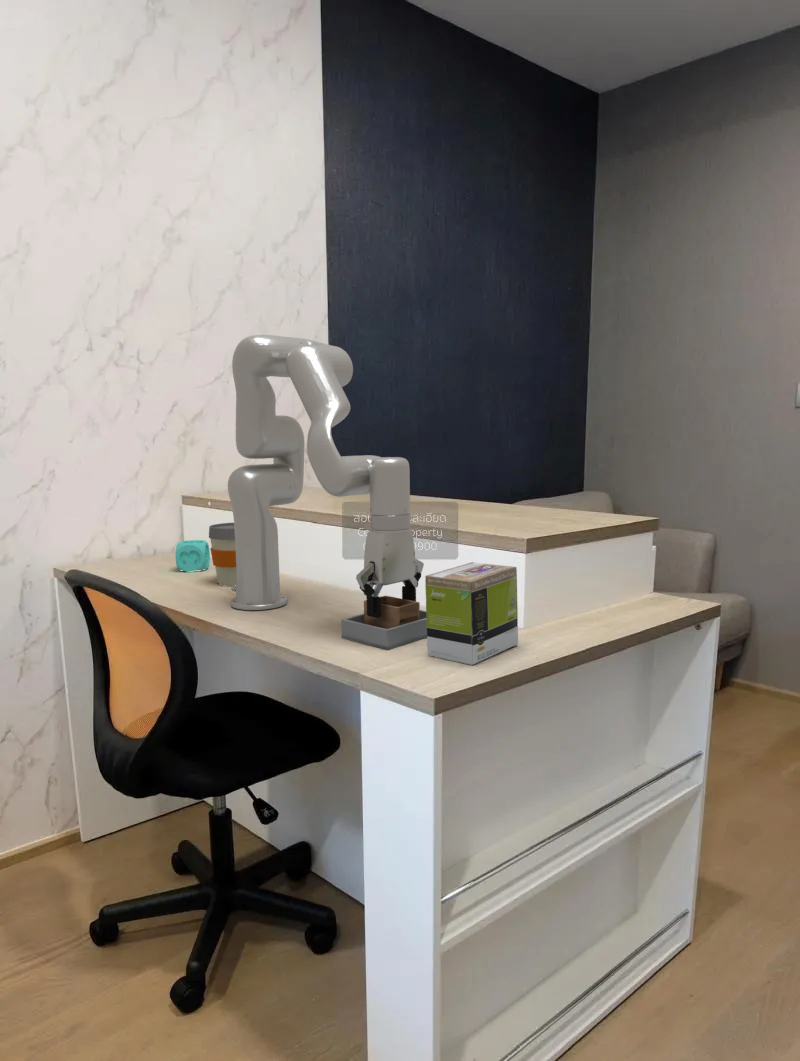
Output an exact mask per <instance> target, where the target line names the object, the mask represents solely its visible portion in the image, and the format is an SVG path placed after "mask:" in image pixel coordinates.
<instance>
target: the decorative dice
mask: <svg viewBox="0 0 800 1061" xmlns="http://www.w3.org/2000/svg"><path fill="white" fill-rule="evenodd" d="M210 557H211V550H210V546H209V543H208V542H207V541H206V540H203V539H200V540H199V539H192V540H191V539H190V540H181V541H179V542H178V543H177V544H176V548H175V565H176V567H177V569H179V570H178V571H180V570H183V571H193V570H194V571H195V570H203V569H207V568H208V567H210V561H211V558H210ZM208 569H209V568H208ZM208 569H207V570H208Z"/></svg>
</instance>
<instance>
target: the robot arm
mask: <svg viewBox="0 0 800 1061" xmlns="http://www.w3.org/2000/svg"><path fill="white" fill-rule="evenodd" d="M231 361H232V362H231V363H232V365H231V366H232V367H231V368H232V375H233V381H234V382H233V383H234V387H235V394H236V395H235V446H236V450H237V453H238V454H240V455H241V457H244V458H246V459H253V460H254V459H257V460H262V459H265V460H266V459H272V460H273V463H262V464H249V465H248V464H247V465H243V466H240V467H238V468H236V469H234V470H233V471H232V472H231V474H230V475H229V477H228V479H227V492H228V496H229V500H230V504H231V509H232V515H233V523H234V530H235V548H236V570H237V583H236V586H235V585H233V586H230V587H231V591H232V592H235V597H234V598H232V599H231V600H230V606H231V607H232V608H234V609H236V610H242V611H243V610H244V611H262V610H263V611H264V610H271V609H276V608H280V607H282V606H285V605H286V604H287V603H288V597H287V596H286V595H284V594H281V582H280V580H281V579H280V556H279V555H280V553H279V551H280V550H279V535H278V534H279V532H278V531H279V530H278V525H277V522H276V518H275V517H274V516H273V514H272V512H271V510H270V508H269V507H275V506H282V505H288V504H289V505H290V504H293V503H294V502H296V501H297V500H299V498H300V496H301V495H302V492H303V487H304V478H305V477H304V471H305V436H304V432H303V429H302V426H301V424H300V423H299V422H298V421H297V419H295V418H293V417H292V416H289V415H276V404H277V398H276V394H275V390H274V389H273V386H272V384H271V382H270V381H269V379H268V377H275V378H276V377H278V378H290V380H291V382H292V384H293V387H294V388H295V391H296V393H297V395H298V397H299V399H300V402H301V403H302V405H303V407H304V408H303V409H305V412H306V414H307V416H308V418H309V420H310V425H309V430H308V433H307V441H306V446H307V447H306V450H307V456H308V457H307V458H308V461H309V463H310V465H311V468H312V470H313V473H314V474H315V476H316V478H317V481H318V483H320V485H321V487H322V488H323V490H325V492H327V494H330V495H331V496H334V497H337V498H338V497H349V496H350V497H351V496H359V495H369V511H370V512H369V513H370V514H369V515H370V516H369V518H370V521H369V522H370V531H367V534H366V539H365V546H364V556H363V557H364V558H363V568H362V570H360V572H359V573H357V574H356V577H355V579H356V582H357V583H358V585H359V589H360V590H361V592H362V593H363V595H364V596H366V600H367V615H368V616H370V617H375V618H380V617H381V598H380V597H381V596H379V594H380V593H381V590H382V589H383V587H384V586H389V585H393V584H398V583H401V582H402V583H403V586H401V599H406V600H411V601H416V602H417V588H418V587H419V581H420V579H421V578H422V572H423V569H424V565H425V564H424V562H423V561H421V560H419V559H417V558H416V550H415V549H416V548H415V542H414V537H413V536H414V535H413V530H412V528H411V521H412V516H411V488H410V486H411V485H410V484H411V479H410V473H411V471H410V462H409V461H408V459H406V458H405V457H401V456H394V457H393V456H392V457H391V456H386V457H385V456H383V457H381V456H379V455H372V454H371V455H370V454H369V455H368V454H365V455H345V456H341V454H340V452H339V451H338V449H337V447H336V445H335V442H334V439H333V436H332V428H334V427H335V426H336V425H339V423H341V422H342V421H343V420H345V418H346V417H347V416H348V415H349V413H350V412H351V404H350V401H349V399H348V397H347V395H346V392H345V391H344V389H343V387H345V386H346V385H347V384H349V383H350V381H351V380H352V377H353V373H354V365H353V361H352V359H351V357H350V356H349V354H348V352H347V351H346V350H344V349H343V348H341V347H339V346H336V345H331V344H327V343H322V342H319V341H316V340H311V339H307V338H299V337H291V336H284V335H283V336H281V335H275V334H274V335H273V334H254V335H250V336H246V337H244V338H243V339H242V340H241V341H239V343H237V345H236V347H235V350H234V352H233V355H232V360H231Z"/></svg>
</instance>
